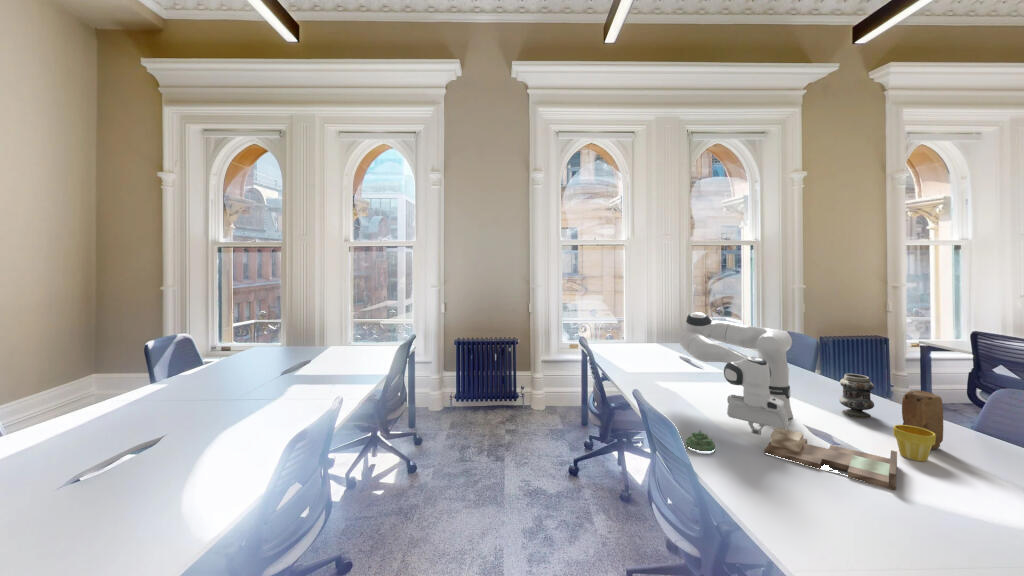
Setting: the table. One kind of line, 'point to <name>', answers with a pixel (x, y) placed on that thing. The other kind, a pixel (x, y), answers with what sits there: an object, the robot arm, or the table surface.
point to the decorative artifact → (700, 442)
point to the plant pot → (914, 441)
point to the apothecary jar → (856, 395)
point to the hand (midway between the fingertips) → (756, 433)
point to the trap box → (844, 462)
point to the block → (924, 413)
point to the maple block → (787, 439)
